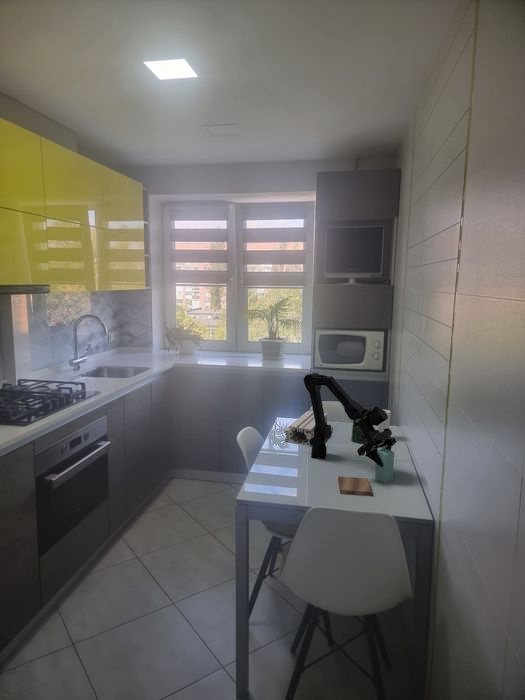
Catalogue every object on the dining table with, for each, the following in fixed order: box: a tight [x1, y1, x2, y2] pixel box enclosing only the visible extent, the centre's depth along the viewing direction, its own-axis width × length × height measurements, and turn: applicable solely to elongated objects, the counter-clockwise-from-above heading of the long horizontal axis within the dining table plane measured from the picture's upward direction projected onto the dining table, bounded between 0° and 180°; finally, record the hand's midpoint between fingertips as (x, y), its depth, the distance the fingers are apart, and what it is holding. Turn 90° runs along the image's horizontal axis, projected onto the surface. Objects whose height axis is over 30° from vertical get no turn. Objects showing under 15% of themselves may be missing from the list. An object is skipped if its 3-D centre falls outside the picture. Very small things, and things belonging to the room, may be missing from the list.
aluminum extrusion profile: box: [283, 410, 328, 447], centre depth 229 cm, size 14×31×10 cm, turn 156°
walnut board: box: [337, 475, 373, 497], centre depth 170 cm, size 12×12×2 cm
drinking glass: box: [376, 408, 392, 440], centre depth 226 cm, size 7×7×15 cm
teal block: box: [374, 448, 395, 483], centre depth 178 cm, size 5×5×12 cm
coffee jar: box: [350, 405, 372, 444], centre depth 221 cm, size 10×8×19 cm
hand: (387, 465), depth 176 cm, fingers open, 6 cm apart
